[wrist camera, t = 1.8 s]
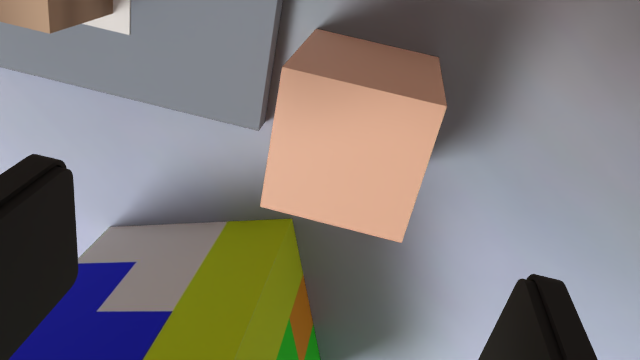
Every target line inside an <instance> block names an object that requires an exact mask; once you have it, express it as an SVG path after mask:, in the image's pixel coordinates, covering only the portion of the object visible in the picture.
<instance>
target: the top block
mask: <svg viewBox="0 0 640 360" xmlns="http://www.w3.org/2000/svg"><path fill="white" fill-rule="evenodd" d="M446 108H447V104H446V98H445V92H444V86H443V80H442V74H441V68H440V62H439V57H435V56H431V55H427V54H422V53H418V52H414V51H409V50H405V49H401V48H397V47H392V46H388V45H384V44H380V43H375V42H371V41H367V40H363V39H358V38H354V37H350V36H345V35H341V34H337V33H333V32H328V31H324V30H320V29H315V31H314V32H313V33H312V34H311V35H310V36H309V37H308V38H307V40H306V41H305V42H304V43H303V44H302V45H301V46H300V47H299V49H298V50H297V51H296V52H295V53H294V54H293V55H292V56H291V58H290V59H289V60H288V61H287V62H286V63H285V64H284V65H283V67H282V71H281V77H280V84H279V90H278V96H277V103H276V109H275V115H274V121H273V128H272V134H271V140H270V147H269V153H268V159H267V166H266V172H265V178H264V185H263V191H262V197H261V204H260V207H263V208H267V209H271V210H275V211H279V212H283V213H287V214H291V215H295V216H298V217H302V218H306V219H310V220H314V221H318V222H322V223H326V224H330V225H334V226H337V227H341V228H345V229H349V230H353V231H357V232H361V233H365V234H369V235H373V236H377V237H380V238H384V239H388V240H392V241H396V242H400V243H402V240H403V237H404V234H405V231H406V228H407V225H408V222H409V219H410V216H411V213H412V210H413V207H414V204H415V201H416V198H417V195H418V192H419V189H420V186H421V183H422V180H423V177H424V174H425V171H426V168H427V165H428V162H429V159H430V156H431V153H432V150H433V147H434V144H435V141H436V138H437V135H438V132H439V129H440V126H441V123H442V120H443V117H444V114H445V111H446Z"/></svg>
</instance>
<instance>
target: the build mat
mask: <svg viewBox="0 0 640 360" xmlns="http://www.w3.org/2000/svg"><path fill="white" fill-rule="evenodd" d="M282 3H283V0H113V14H110V15H107V16H104V17H101V18H98V19H95V20H91V21H88V22H85V23H82V24H79V25H76V26H73V27H69V28H66V29H63V30H60V31H57V32H54V33H51V34H49V33H45V32H41V31H37V30H32V29H28V28H24V27H20V26H16V25H12V24H8V23H4V22H0V67H2V68H6V69H10V70H14V71H18V72H22V73H26V74H30V75H34V76H38V77H42V78H47V79H51V80H55V81H59V82H63V83H67V84H71V85H75V86H79V87H83V88H87V89H91V90H95V91H99V92H103V93H107V94H111V95H115V96H119V97H123V98H127V99H131V100H135V101H140V102H144V103H148V104H152V105H156V106H160V107H164V108H168V109H172V110H176V111H180V112H184V113H188V114H192V115H196V116H200V117H204V118H208V119H212V120H216V121H220V122H224V123H228V124H233V125H237V126H241V127H245V128H249V129H253V130H257V131H259V130H260V128H261V127H262V125H263V124H264V123H265V116H266V110H267V103H268V96H269V90H270V83H271V76H272V70H273V63H274V56H275V49H276V43H277V36H278V29H279V23H280V16H281V9H282Z"/></svg>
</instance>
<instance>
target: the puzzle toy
mask: <svg viewBox="0 0 640 360" xmlns="http://www.w3.org/2000/svg"><path fill="white" fill-rule="evenodd" d="M9 360H320V355H319V350H318V345H317V340H316V335H315V330H314V325H313V320H312V315H311V310H310V305H309V300H308V295H307V290H306V285H305V280H304V275H303V270H302V266H301V261H300V256H299V251H298V246H297V241H296V236H295V231H294V226H293V221H292V219H272V220H250V221H228V222H206V223H184V224H162V225H140V226H118V227H109V228H108V229H107V230H106V231H105V232H104V233H103V234H102V235H101V236H100V237H99V238H98V239H97V240H96V241H95V242H94V243H93V244H92V245H91V246H90V247H89V248H88V249H87V250H86V251H85V252H84V253H83V254H82V255H81V256H80V257H79V258H78V275H77V278H76V281H75V283H74V285H73V286H72V287H71V289H70V290H69V291H68V292H67V293H66V294H65V295H64V297H63V298H62V299H61V300H60V301H59V302H58V303H57V305H56V306H55V307H54V308H53V309H52V310H51V311H50V313H49V314H48V315H47V316H46V317H45V318H44V320H43V321H42V322H41V323H40V324H39V325H38V326H37V328H36V329H35V330H34V331H33V332H32V333H31V334H30V336H29V337H28V338H27V339H26V340H25V341H24V342H23V344H22V345H21V346H20V347H19V348H18V349H17V350H16V352H15V353H14V354H13V355H12V356H11V357H10V359H9Z"/></svg>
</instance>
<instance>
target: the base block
mask: <svg viewBox="0 0 640 360" xmlns="http://www.w3.org/2000/svg"><path fill="white" fill-rule="evenodd" d="M110 14H113V0H0V22H4V23H8V24H12V25H16V26H20V27H24V28H28V29H32V30H37V31H41V32H45V33H49V34H51V33H54V32H57V31H60V30H63V29H66V28H69V27H73V26H76V25H79V24H82V23H85V22H88V21H91V20H95V19H98V18H101V17H104V16H107V15H110Z"/></svg>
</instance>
